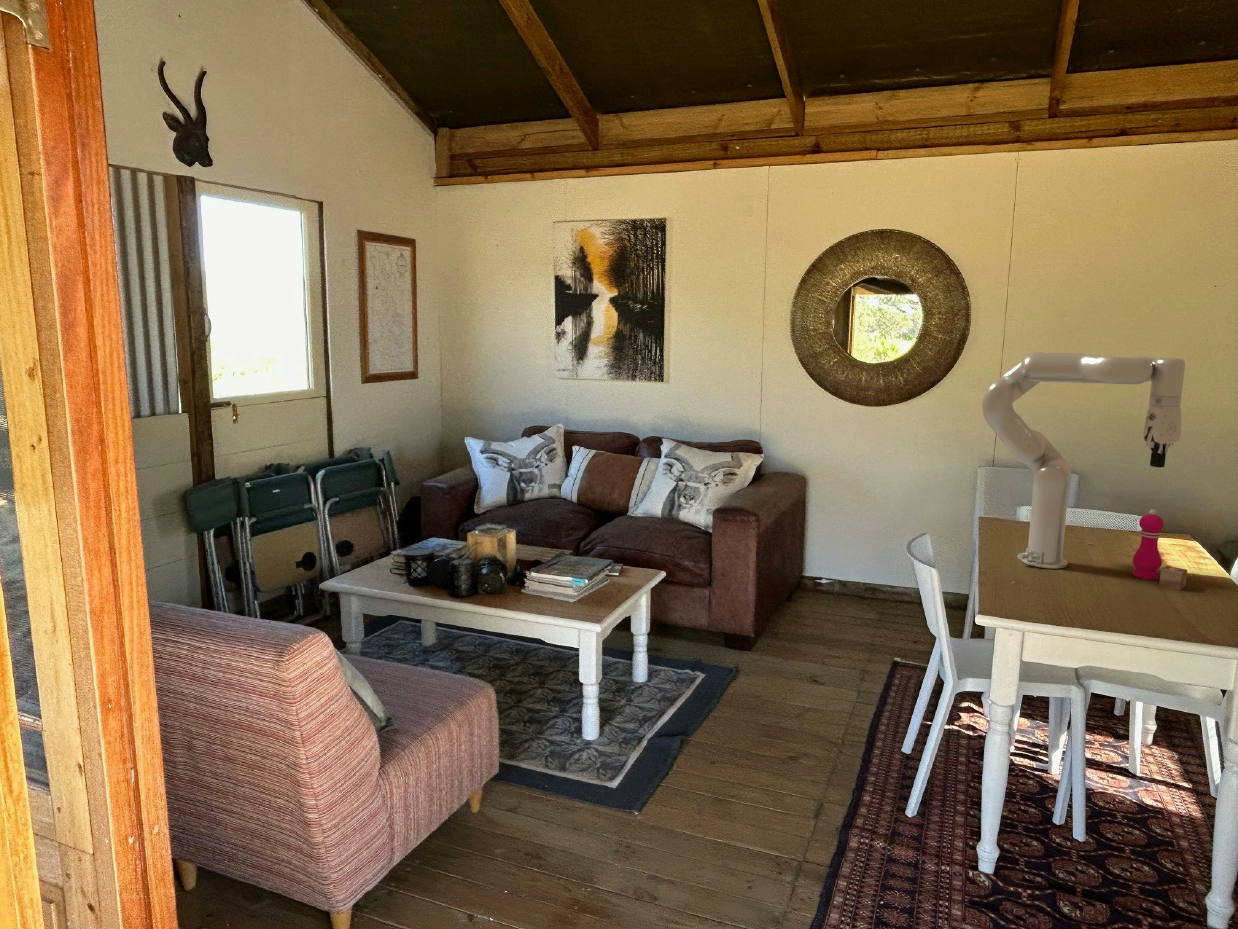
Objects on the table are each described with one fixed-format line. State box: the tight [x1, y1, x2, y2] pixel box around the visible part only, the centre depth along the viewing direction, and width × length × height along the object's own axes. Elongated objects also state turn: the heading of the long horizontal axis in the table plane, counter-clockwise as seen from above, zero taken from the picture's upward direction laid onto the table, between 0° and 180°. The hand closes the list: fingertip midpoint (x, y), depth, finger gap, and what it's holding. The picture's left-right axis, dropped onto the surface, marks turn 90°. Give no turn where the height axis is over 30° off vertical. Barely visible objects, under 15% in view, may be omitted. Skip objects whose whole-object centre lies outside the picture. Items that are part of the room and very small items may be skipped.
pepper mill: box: [1132, 509, 1165, 581], centre depth 250 cm, size 7×7×20 cm
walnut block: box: [1158, 565, 1188, 591], centre depth 243 cm, size 5×5×5 cm
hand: (1157, 466), depth 247 cm, fingers closed
